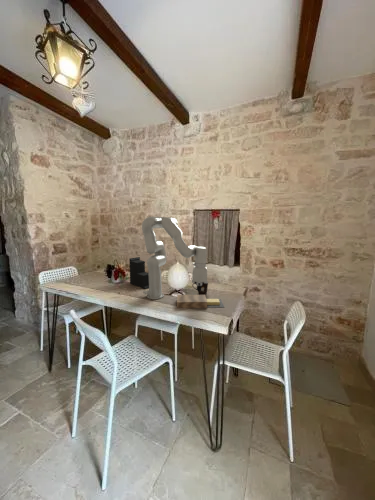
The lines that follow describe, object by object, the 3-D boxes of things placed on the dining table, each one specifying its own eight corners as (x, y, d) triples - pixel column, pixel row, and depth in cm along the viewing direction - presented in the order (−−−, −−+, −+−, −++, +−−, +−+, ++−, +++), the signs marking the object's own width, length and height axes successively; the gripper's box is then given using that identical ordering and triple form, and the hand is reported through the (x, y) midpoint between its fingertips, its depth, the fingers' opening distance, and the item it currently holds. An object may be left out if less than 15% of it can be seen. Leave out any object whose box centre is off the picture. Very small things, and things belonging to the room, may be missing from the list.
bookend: (155, 286, 190) (154, 260, 187) (144, 289, 182) (144, 261, 179) (139, 281, 206) (139, 256, 203) (129, 283, 198) (128, 258, 195)
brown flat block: (177, 307, 145) (177, 302, 144) (177, 300, 158) (177, 294, 158) (207, 307, 145) (207, 301, 144) (205, 299, 159) (205, 294, 158)
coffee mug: (209, 293, 172) (210, 281, 171) (204, 296, 165) (204, 284, 164) (197, 291, 178) (197, 279, 177) (191, 294, 171) (191, 281, 170)
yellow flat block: (206, 304, 149) (206, 302, 149) (205, 301, 155) (205, 298, 155) (219, 304, 149) (219, 302, 149) (218, 301, 155) (218, 298, 155)
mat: (207, 307, 145) (207, 307, 145) (205, 299, 159) (205, 299, 159) (224, 307, 145) (224, 307, 145) (220, 299, 159) (220, 299, 159)
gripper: (189, 265, 144) (188, 292, 147) (211, 266, 145) (210, 293, 147) (189, 263, 151) (187, 288, 154) (210, 264, 152) (208, 289, 155)
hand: (198, 290), depth 151 cm, fingers closed
